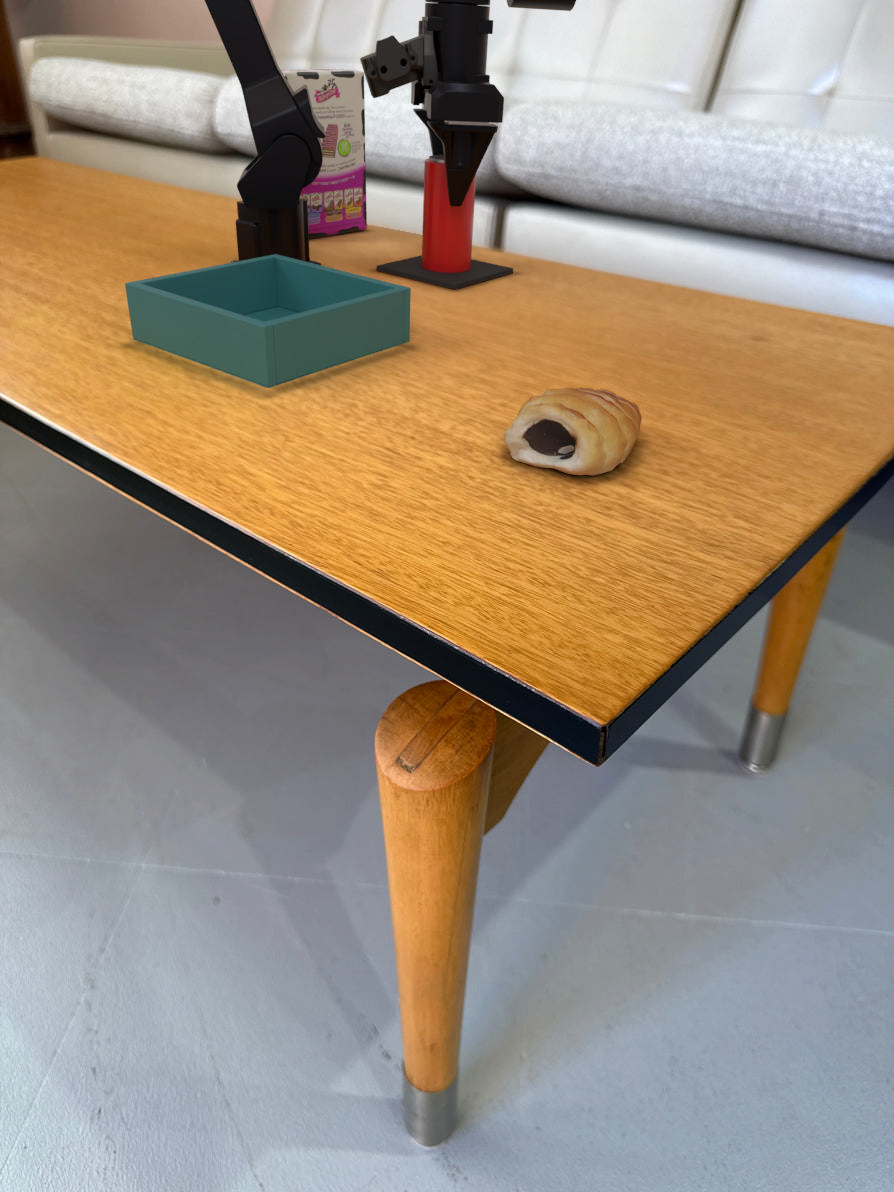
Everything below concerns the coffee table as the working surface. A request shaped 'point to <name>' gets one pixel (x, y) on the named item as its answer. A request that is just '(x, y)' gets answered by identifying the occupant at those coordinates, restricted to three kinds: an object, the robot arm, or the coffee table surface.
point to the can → (445, 222)
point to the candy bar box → (336, 150)
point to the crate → (269, 317)
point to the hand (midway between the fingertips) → (449, 197)
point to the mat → (449, 280)
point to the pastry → (574, 431)
